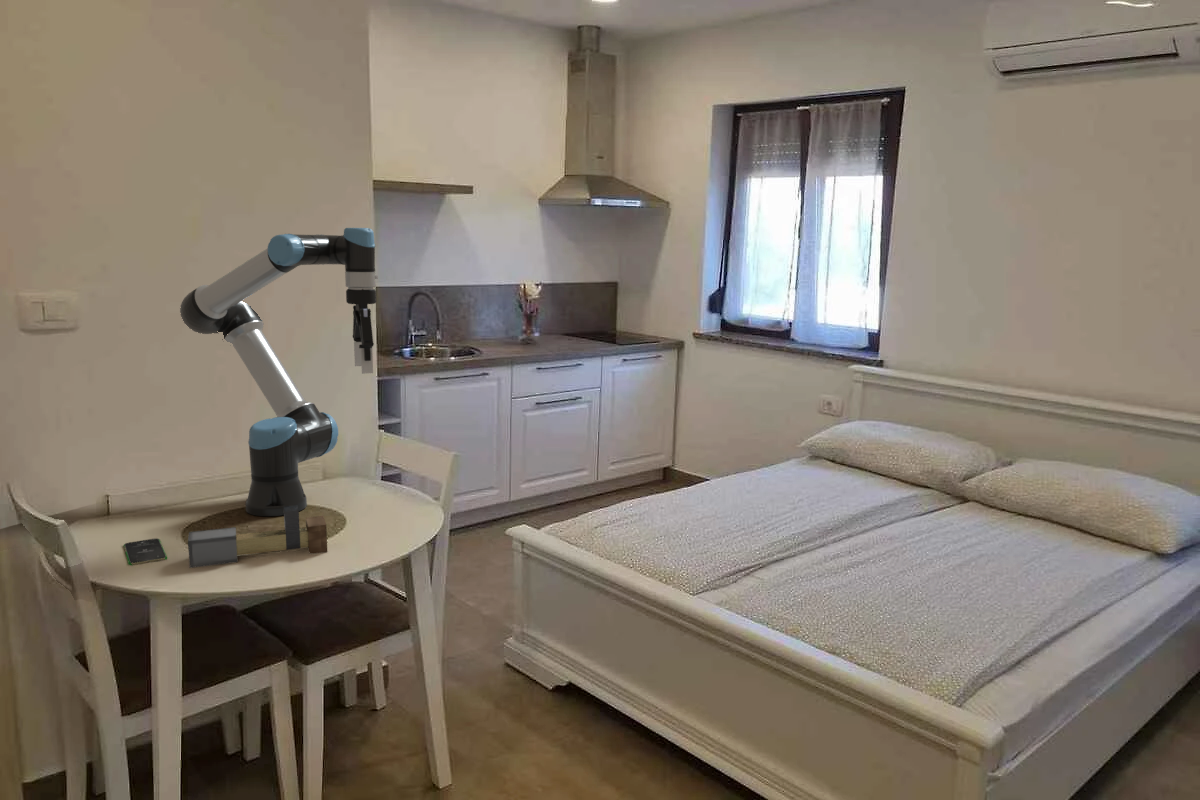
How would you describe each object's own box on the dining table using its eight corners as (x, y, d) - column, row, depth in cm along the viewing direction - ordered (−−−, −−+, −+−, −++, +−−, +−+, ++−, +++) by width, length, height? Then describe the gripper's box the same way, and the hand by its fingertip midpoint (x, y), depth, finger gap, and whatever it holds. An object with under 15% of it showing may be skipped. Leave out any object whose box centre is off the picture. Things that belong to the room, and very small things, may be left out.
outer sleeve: (189, 567, 186) (187, 541, 184) (191, 557, 191) (189, 532, 190) (237, 562, 189) (235, 536, 188) (237, 552, 195) (235, 527, 194)
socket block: (309, 554, 195) (308, 526, 194) (307, 544, 201) (305, 517, 200) (327, 551, 196) (326, 524, 195) (324, 542, 203) (323, 515, 201)
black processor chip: (128, 563, 186) (122, 542, 198) (129, 567, 186) (123, 546, 198) (167, 557, 190) (159, 537, 202) (168, 561, 190) (159, 541, 202)
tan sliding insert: (232, 556, 190) (229, 517, 188) (232, 550, 193) (229, 511, 192) (319, 546, 197) (318, 508, 195) (318, 540, 200) (316, 503, 199)
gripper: (383, 291, 212) (385, 375, 216) (368, 285, 235) (371, 362, 239) (352, 291, 210) (355, 377, 213) (340, 285, 232) (343, 363, 236)
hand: (363, 369), depth 226 cm, fingers open, 13 cm apart
